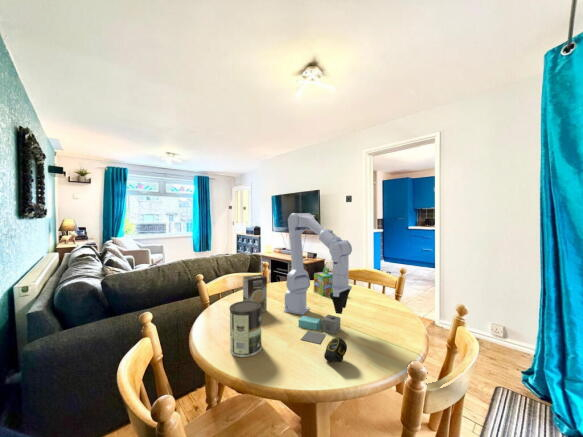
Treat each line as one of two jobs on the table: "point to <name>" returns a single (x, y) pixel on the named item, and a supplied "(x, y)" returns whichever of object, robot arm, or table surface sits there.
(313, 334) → the stub pad
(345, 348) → the tape measure
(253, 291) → the coffee box
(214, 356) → the table surface
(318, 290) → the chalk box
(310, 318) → the turquoise box
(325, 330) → the dice cube
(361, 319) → the table surface
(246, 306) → the coffee can
